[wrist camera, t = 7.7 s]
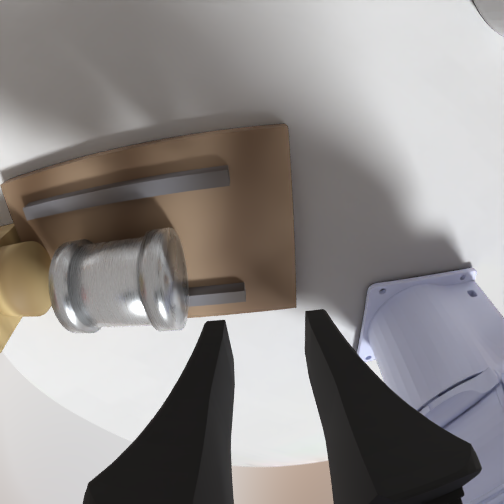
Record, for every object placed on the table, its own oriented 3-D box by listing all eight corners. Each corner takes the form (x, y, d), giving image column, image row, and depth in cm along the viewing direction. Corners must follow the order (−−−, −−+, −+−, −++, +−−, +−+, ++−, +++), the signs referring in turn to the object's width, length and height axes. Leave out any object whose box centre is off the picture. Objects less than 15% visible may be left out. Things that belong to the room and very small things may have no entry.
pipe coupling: (167, 205, 15) (155, 298, 12) (190, 265, 19) (187, 345, 16) (64, 222, 15) (38, 304, 12) (101, 274, 19) (88, 347, 16)
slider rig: (285, 123, 15) (333, 178, 8) (294, 297, 21) (318, 414, 13) (-34, 195, 15) (-112, 261, 8) (21, 315, 21) (-23, 395, 14)
